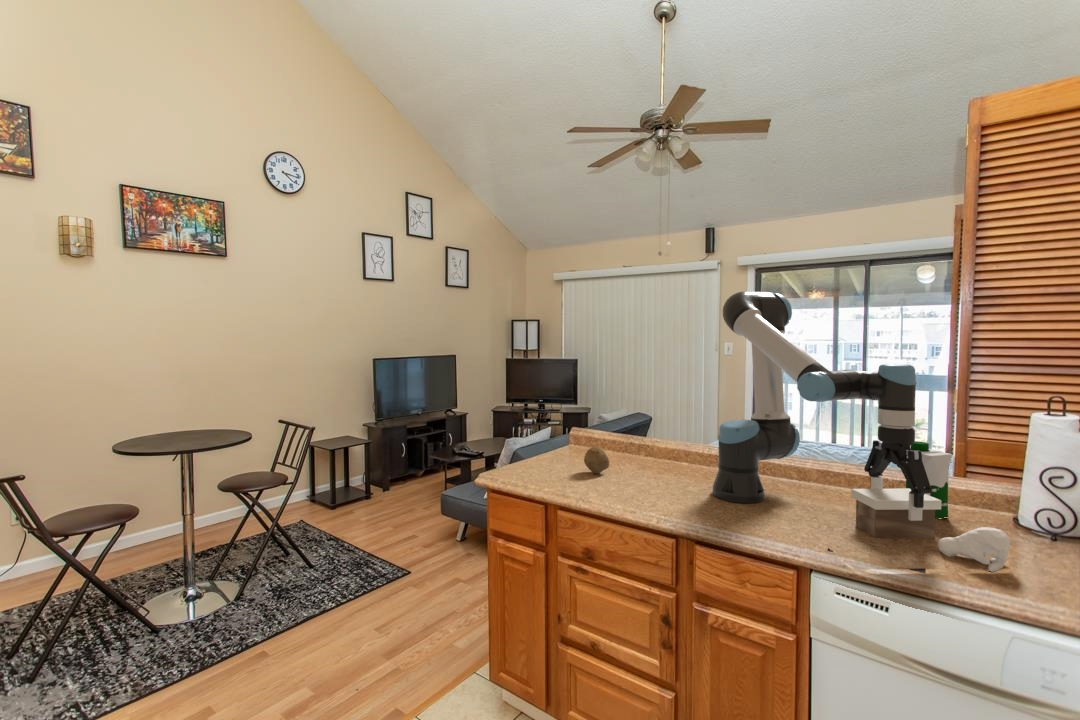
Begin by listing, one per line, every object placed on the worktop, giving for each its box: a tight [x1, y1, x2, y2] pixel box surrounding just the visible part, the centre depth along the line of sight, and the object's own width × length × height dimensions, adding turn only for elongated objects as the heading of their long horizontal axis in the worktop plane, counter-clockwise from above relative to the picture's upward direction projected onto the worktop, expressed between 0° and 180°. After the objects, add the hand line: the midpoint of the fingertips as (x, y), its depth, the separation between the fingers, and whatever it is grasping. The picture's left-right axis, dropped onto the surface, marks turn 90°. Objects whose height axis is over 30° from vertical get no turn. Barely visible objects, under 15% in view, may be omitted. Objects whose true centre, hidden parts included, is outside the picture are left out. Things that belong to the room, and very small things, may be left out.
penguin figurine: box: [937, 526, 1011, 573], centre depth 108 cm, size 6×8×12 cm
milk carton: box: [905, 440, 953, 519], centre depth 136 cm, size 9×9×20 cm
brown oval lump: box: [583, 446, 610, 475], centre depth 182 cm, size 9×9×10 cm
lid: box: [850, 487, 941, 510], centre depth 124 cm, size 10×16×3 cm, turn 89°
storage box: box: [855, 499, 936, 539], centre depth 124 cm, size 8×14×8 cm, turn 89°
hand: (894, 510), depth 124 cm, fingers open, 13 cm apart
